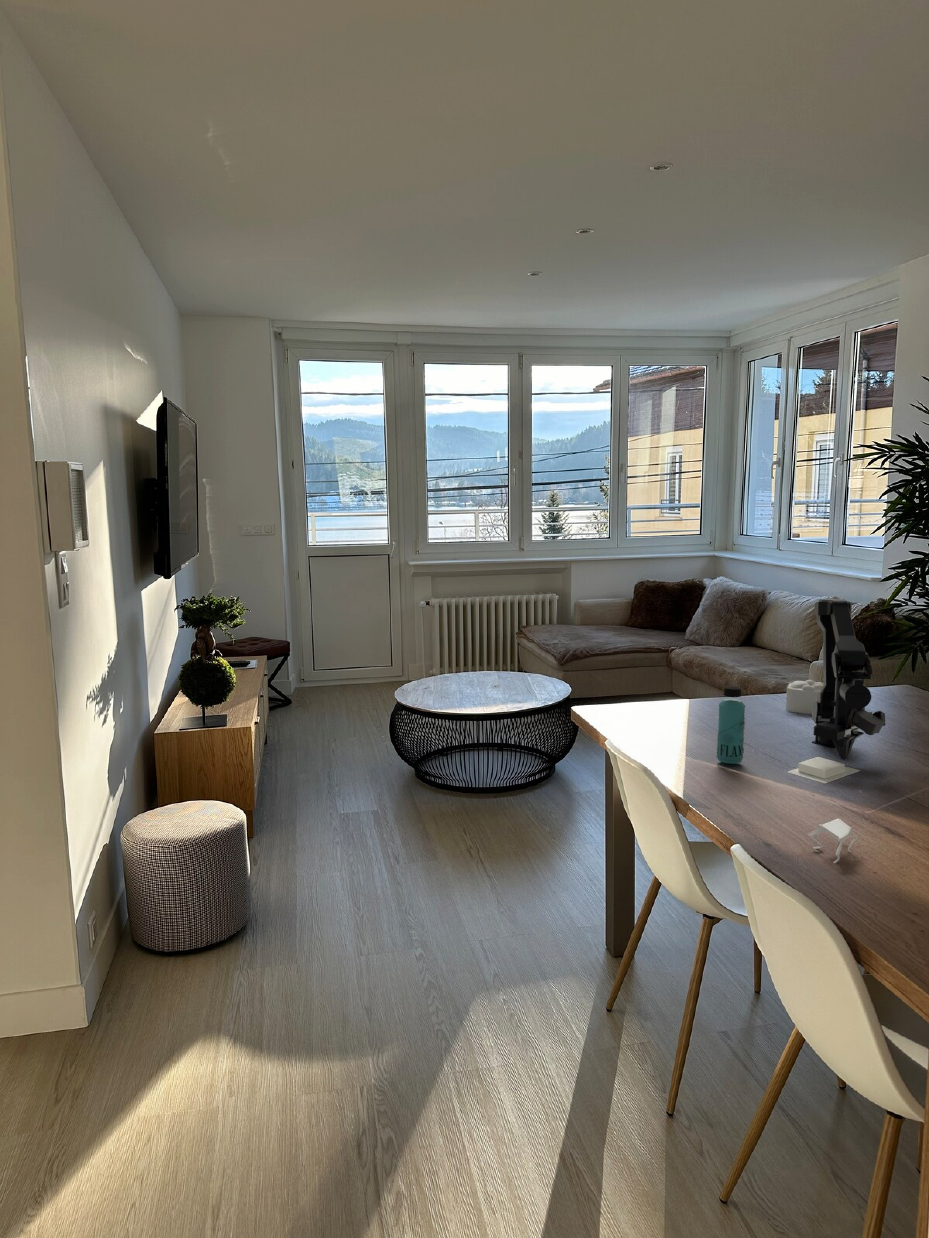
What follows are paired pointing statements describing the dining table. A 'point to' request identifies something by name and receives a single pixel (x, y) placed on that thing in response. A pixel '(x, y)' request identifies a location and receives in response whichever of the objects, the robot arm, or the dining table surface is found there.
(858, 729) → the robot arm
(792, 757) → the dining table surface
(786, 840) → the dining table surface
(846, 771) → the felt mat
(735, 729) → the beverage bottle
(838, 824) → the white legged piece
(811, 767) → the rectangular block
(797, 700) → the white bumpy block
